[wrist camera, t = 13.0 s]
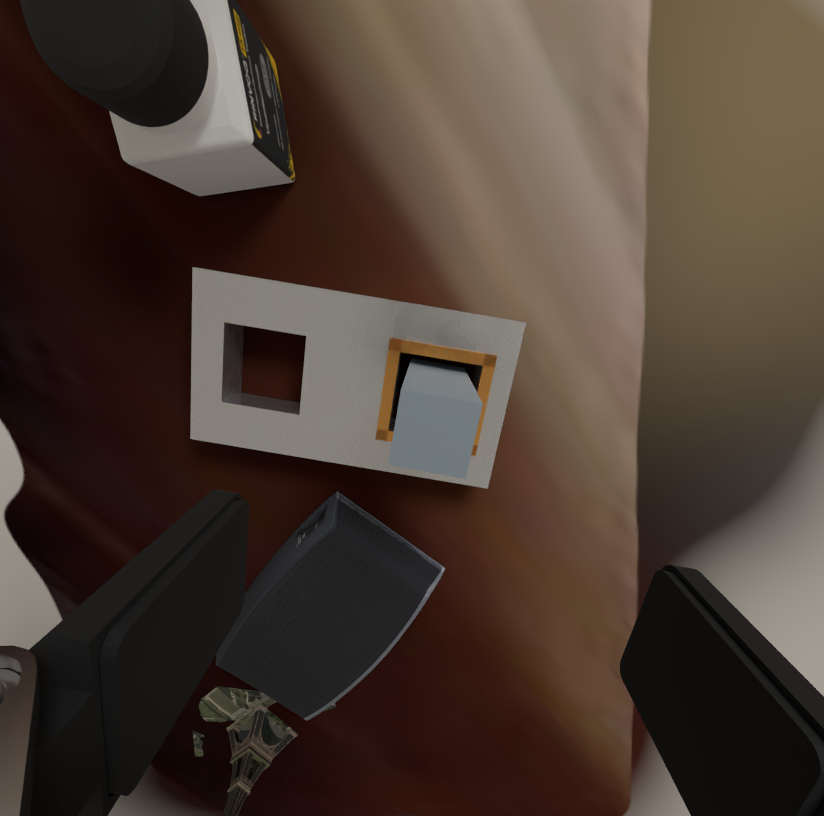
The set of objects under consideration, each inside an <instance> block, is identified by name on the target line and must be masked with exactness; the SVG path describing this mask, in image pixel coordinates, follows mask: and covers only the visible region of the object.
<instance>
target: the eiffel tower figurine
mask: <svg viewBox="0 0 824 816" xmlns="http://www.w3.org/2000/svg"><path fill="white" fill-rule="evenodd" d="M275 702H276V701H275V700H273V699H272V698H270V697H268V696H267V695H265V694H264V693H262V692H260V691H254V690H245V689H236V688H228V687H221V686H218V687H216V688H215V689H213V690H212V691H211V692H210V693H209V694H208V695H206V696H205V697H203V698H201V701H200V704H199V709H200V711H201V713H200V715H201V716H202V717H203V718H204V719H205V721H212V722H224V721H231V720H237V721H236V722H234V723H233V724H231V725H230V726H229V727H227V728H226V729H227V731H228V732H229V738H230V744H231V749H232V755H233V756H232V758H231V760H230V763H231V764H233V771H232V778H231V786H230V789H228V793H229V795H228V799H227V803H226V807H225V810H224V813H223V816H237V814H238V812H239V810H240V808H241V806H242V804H243V802H244V800H245V798H246V796H248V795H249V794H250V789H251V788H252V786H253V785H254V783H255V782H256V780H257V779H258V777H259V775H260V774H261V773H262V771H263V770H264V769H266V768H267V767H269V766H270V765H271V762H272V759H273V758H274V757H275V756H276V755H277V754H278V753H279V752H280V751H281V750H282V749H283V748H284V747H285V746H286V745H287V744H288V743H289V742H290V741H291V740H292V739H293V738H295V737H296V736H298V734H297V733H296V732H295V731H293V730H292V729H291V728H290V727H289V726H287V725H286V724H285V723H284V722H283V721H281V720H280V719H279V718H278V717H277V716H275V715H274V714H273V713H272V712H271V711H269V710H268V709H267V708H268V707H269V706H270V705H272V704H274V703H275ZM333 708H335V703H334V704H332V705H331V706H330V707H328V708H327V709H325V710H324V711H326V710H329V709H333ZM201 737H204V735H202V734H199V733H197V732H195V731H193V738H194V748H195V756H203V749H202V747H201V745H202V744H203V742H202V741H201V740H200V739H199V738H201ZM239 739H240V740H241V741H242V743H240V741H239Z"/></svg>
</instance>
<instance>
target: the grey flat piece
mask: <svg viewBox="0 0 824 816" xmlns="http://www.w3.org/2000/svg"><path fill="white" fill-rule="evenodd" d="M525 325H526V322H521V321H516V320H510V319H504V318H498V317H492V316H486V315H480V314H474V313H468V312H462V311H456V310H449V309H443V308H437V307H431V306H425V305H419V304H413V303H407V302H401V301H395V300H389V299H383V298H377V297H371V296H365V295H359V294H353V293H347V292H341V291H335V290H329V289H323V288H317V287H311V286H305V285H299V284H293V283H287V282H281V281H275V280H269V279H263V278H257V277H251V276H245V275H239V274H233V273H227V272H221V271H215V270H208V269H202V268H195V267H193V269H192V353H191V436H190V439H194V440H200V441H206V442H212V443H218V444H224V445H230V446H236V447H242V448H248V449H254V450H260V451H266V452H272V453H278V454H284V455H290V456H296V457H302V458H308V459H314V460H320V461H326V462H332V463H338V464H344V465H350V466H356V467H362V468H368V469H374V470H380V471H386V472H392V473H398V474H404V475H410V476H416V477H422V478H428V479H434V480H440V481H446V482H452V483H458V484H464V485H470V486H476V487H482V488H488V485H489V480H490V476H491V472H492V467H493V463H494V459H495V454H496V450H497V446H498V442H499V437H500V433H501V429H502V424H503V420H504V416H505V411H506V407H507V403H508V398H509V394H510V390H511V386H512V381H513V377H514V373H515V368H516V364H517V360H518V355H519V351H520V347H521V342H522V338H523V334H524V329H525ZM244 326H250V327H256V328H262V329H268V330H274V331H280V332H286V333H292V334H298V335H304V336H306V346H305V357H304V368H303V380H302V391H301V402H294V401H288V400H282V399H276V398H270V397H264V396H258V395H252V394H246V393H241V386H242V364H243V343H244ZM402 352H403V353H409V354H415V355H421V356H427V357H433V358H439V359H445V360H451V361H457V362H463V363H469V364H475V365H476V368H475V373H474V378H473V383H472V384H473V386H474V388H475V390H476V392H477V394H478V395H479V397H480V399H481V401H482V403H483V406H482V410H481V415H480V419H479V423H478V427H477V432H476V436H475V440H474V445H473V449H472V453H471V458H470V462H469V466H468V470H467V475H466V479H463V478H457V477H452V476H446V475H441V474H435V473H430V472H424V471H419V470H413V469H408V468H402V467H397V466H391V465H388V462H389V456H390V450H391V444H392V439H393V433H394V427H395V421H396V418H392V417H393V410H394V404H395V397H396V391H397V384H398V378H399V371H400V365H401V358H402Z"/></svg>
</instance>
